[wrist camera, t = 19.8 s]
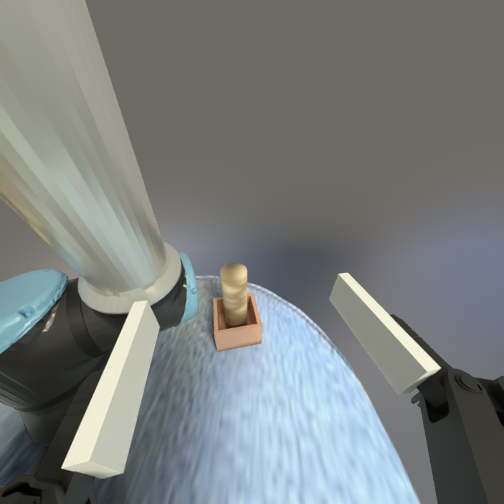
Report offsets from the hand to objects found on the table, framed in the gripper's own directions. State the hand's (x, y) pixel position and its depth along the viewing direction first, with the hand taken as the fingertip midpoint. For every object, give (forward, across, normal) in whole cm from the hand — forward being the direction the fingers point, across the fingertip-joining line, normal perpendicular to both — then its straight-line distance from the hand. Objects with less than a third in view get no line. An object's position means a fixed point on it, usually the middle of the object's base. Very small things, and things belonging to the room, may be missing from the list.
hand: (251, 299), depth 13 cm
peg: (+17, 0, -28) cm, 33 cm away
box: (+17, 0, -29) cm, 34 cm away
